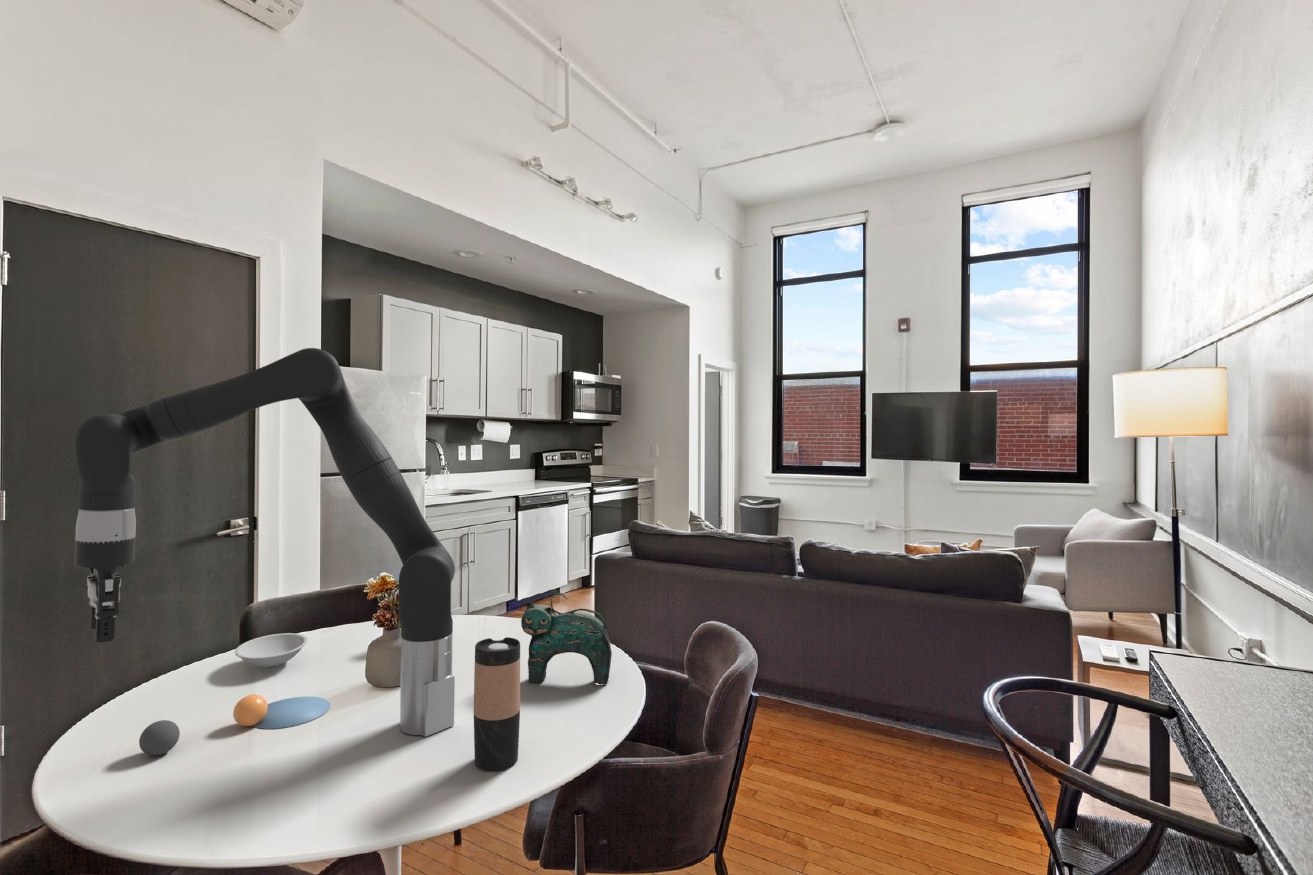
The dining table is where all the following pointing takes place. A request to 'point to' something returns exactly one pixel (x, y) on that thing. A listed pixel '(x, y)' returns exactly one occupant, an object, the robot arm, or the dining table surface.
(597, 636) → the ceramic cat
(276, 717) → the blue mark
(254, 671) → the dining table surface
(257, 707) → the orange ball
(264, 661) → the dish
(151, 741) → the gray ball
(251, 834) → the dining table surface
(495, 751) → the travel mug
